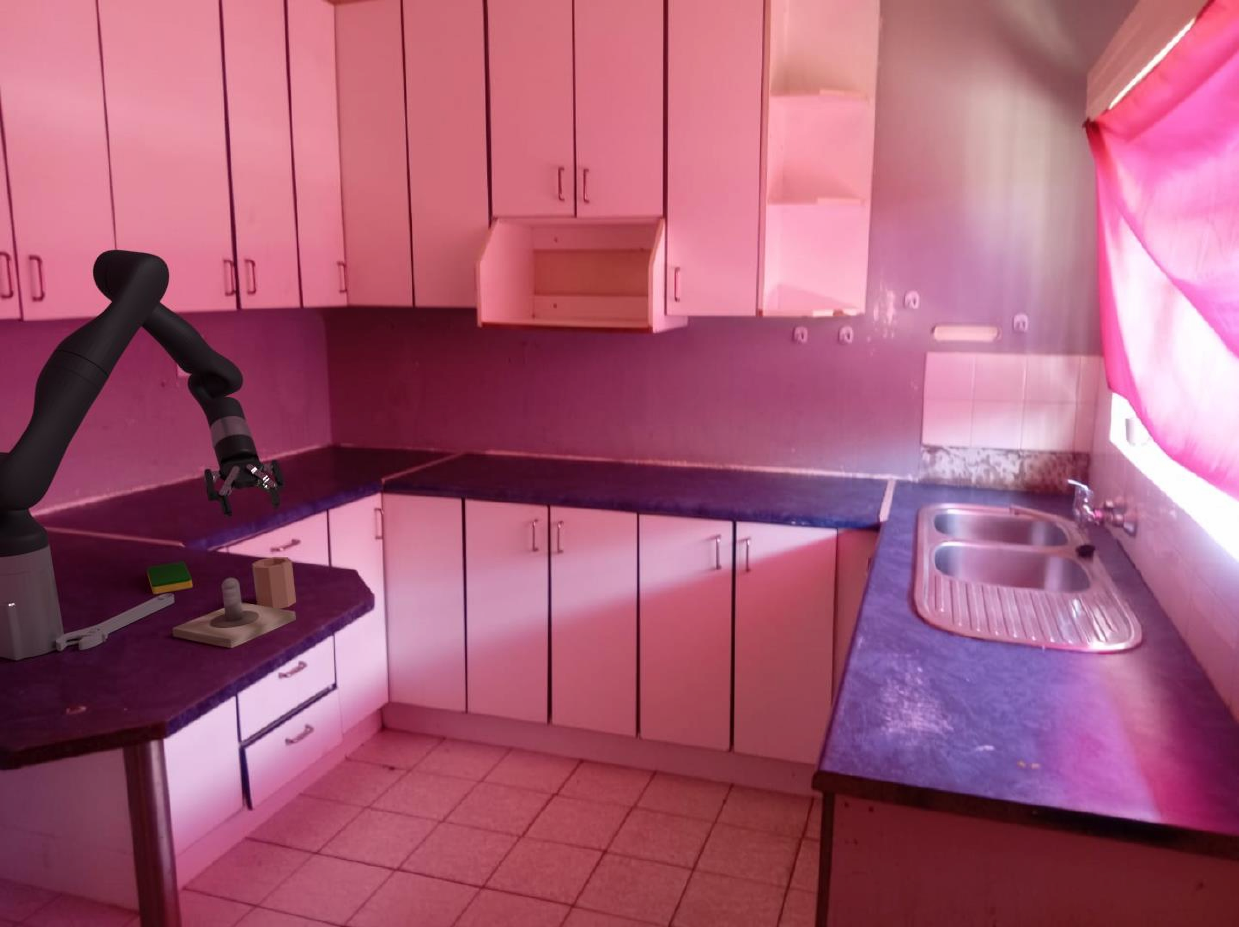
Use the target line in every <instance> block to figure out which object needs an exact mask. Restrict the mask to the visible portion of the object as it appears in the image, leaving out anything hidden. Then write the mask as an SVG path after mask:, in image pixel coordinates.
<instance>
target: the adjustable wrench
mask: <svg viewBox="0 0 1239 927" xmlns="http://www.w3.org/2000/svg"><path fill="white" fill-rule="evenodd" d="M174 603H175V595H174V594H173V593H164V594H163V593H161V594H160V595H158V596H155V597H153V598H151V599H149V600H147V601H145V602H143V603H140V604H139V605H137V606H135V607H132V608H130V609H128V610H125V611H124V612H122V613H120V614H118V615H116V616H114V617H113V616H112V617H111V618H109V619H107V620H105V621H102V622H101V623H98V624H95V625H92V626H89V627H86V628H82V629H78V630H75V631H71V632H67V633H64V635H62V636H61V637H60V638H59V639H57V640H56V648H57V649H56V650H57V651H58V652H62V651H63V650H64V649H65V648H66V647H67V646H71V645H77V644H78V650H79V651H83V650H84V651H85V650H88V649H91V648H93V647H96V646H99V644H102V643H104V642H105V643H106V642H107V640H106V639H108V638H109V637H108V635H109V634H111V633H112V632H115V631H117V630H119V629H121V628H123V627H125V626H128V625H130V624H131V623H134V622H136V621H138V620H140V619H143V618H145V617H147V616H149V615H152V614H153V613H155V612H158V611H159V610H161V609H164V608H166V607H167V606H168V607H169V606H170V605H172V604H174Z"/></svg>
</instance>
